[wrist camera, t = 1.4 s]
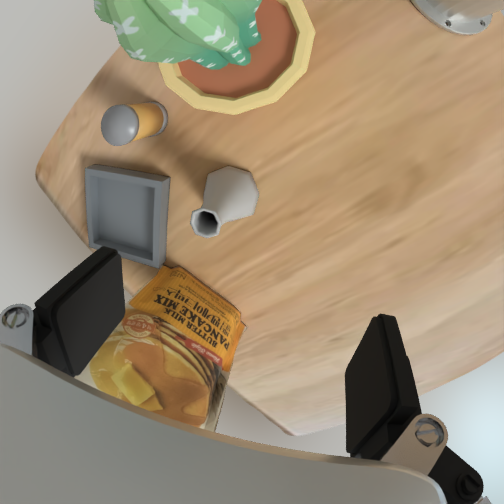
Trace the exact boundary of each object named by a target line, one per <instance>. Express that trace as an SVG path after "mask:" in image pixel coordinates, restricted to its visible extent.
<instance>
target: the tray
mask: <svg viewBox="0 0 504 504" xmlns="http://www.w3.org/2000/svg"><path fill="white" fill-rule="evenodd" d="M169 189H170V177H167V176H162V175H156V174H151V173H145V172H140V171H134V170H128V169H122V168H116V167H110V166H104V165H97V164H94V165H92V166H89V167H87V168H85V191H86V212H87V227H88V239H89V247H91V248H94V249H97V250H98V249H99V248H100V247H102V246H106V247H109V248H113V249H116V250H117V251H118V254H120V255H121V257H122V258H126V259H129V260H132V261H135V262H139V263H142V264H145V265H148V266H152V267H155V268H158V269H159V268H160V267H161V265H162V264H163V263H164V262H165V261H166V239H167V219H168V203H169Z"/></svg>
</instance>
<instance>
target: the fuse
mask: <svg viewBox="0 0 504 504" xmlns="http://www.w3.org/2000/svg"><path fill="white" fill-rule="evenodd" d="M167 123H168V114H167V111H166V109H165V107H164V106H163V105H162V104H160V103H158V102H146V103H141V104H130V105H115V106H112V107H110V108H109V109H108V110H107V111H106V112H105V114H104V115H103V118H102V121H101V130H102V134H103V137H104V138H105V140H106V141H107V142H108V143H109V144H111V145H114V146H121V145H125V144H128V143H130V142H131V141H135V140H138V139H142V138H145V137H151V136H155V135H158V134H160V133H161V132H163V131H164V129H165V128H166V126H167Z"/></svg>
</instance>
